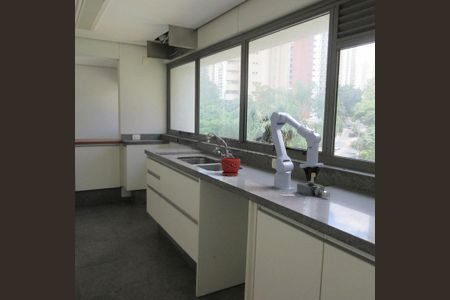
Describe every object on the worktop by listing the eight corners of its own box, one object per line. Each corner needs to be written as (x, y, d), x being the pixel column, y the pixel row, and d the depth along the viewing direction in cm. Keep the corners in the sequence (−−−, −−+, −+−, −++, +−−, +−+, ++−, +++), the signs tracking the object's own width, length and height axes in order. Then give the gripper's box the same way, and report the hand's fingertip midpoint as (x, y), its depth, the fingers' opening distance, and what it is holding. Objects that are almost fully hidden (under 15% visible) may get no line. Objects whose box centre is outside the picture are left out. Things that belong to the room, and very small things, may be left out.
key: (307, 185, 171) (307, 172, 170) (311, 185, 172) (311, 172, 171) (310, 186, 168) (311, 173, 168) (314, 186, 170) (315, 173, 169)
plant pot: (237, 177, 214) (237, 159, 213) (218, 175, 218) (219, 158, 217) (242, 174, 227) (242, 157, 226) (224, 173, 231) (225, 156, 230)
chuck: (296, 192, 173) (297, 183, 173) (311, 191, 177) (311, 182, 177) (320, 200, 157) (320, 190, 156) (335, 199, 161) (335, 189, 161)
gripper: (306, 156, 162) (305, 182, 163) (328, 156, 168) (326, 181, 170) (297, 155, 168) (296, 180, 170) (319, 154, 175) (317, 179, 176)
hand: (311, 180), depth 170 cm, fingers closed on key, 3 cm apart
